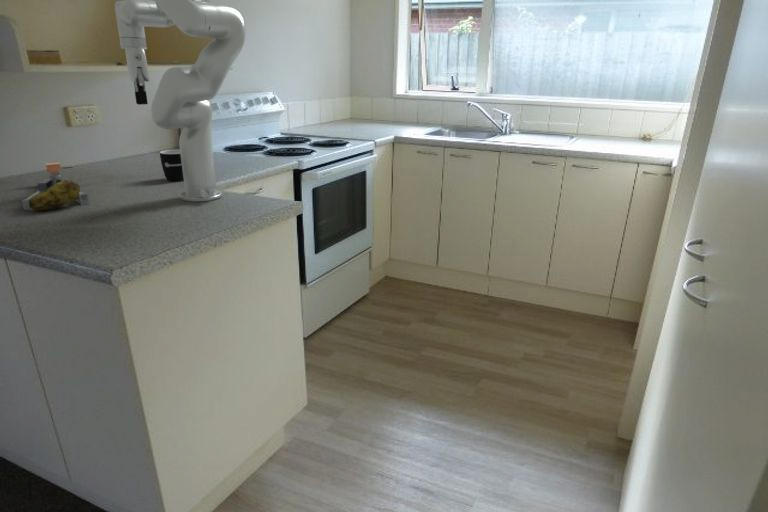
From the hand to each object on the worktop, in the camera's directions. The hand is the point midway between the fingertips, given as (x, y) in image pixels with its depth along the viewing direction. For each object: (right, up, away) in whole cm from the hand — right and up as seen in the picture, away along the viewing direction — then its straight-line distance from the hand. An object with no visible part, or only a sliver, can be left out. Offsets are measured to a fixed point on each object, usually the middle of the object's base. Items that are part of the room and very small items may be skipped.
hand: (142, 104), depth 172 cm
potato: (-16, -36, -20) cm, 44 cm away
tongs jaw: (-18, -32, -8) cm, 37 cm away
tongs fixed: (-28, -31, -6) cm, 42 cm away
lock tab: (-32, -21, +5) cm, 39 cm away
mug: (+6, -22, +18) cm, 29 cm away
